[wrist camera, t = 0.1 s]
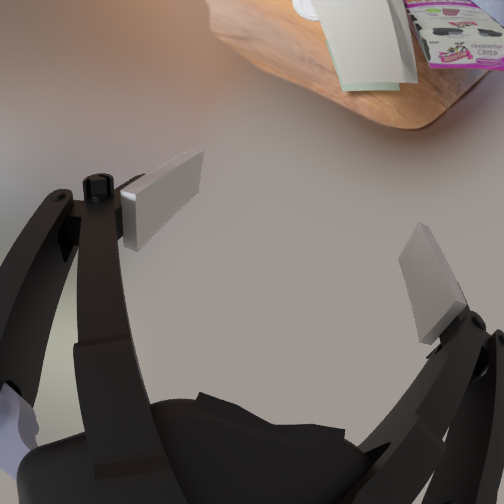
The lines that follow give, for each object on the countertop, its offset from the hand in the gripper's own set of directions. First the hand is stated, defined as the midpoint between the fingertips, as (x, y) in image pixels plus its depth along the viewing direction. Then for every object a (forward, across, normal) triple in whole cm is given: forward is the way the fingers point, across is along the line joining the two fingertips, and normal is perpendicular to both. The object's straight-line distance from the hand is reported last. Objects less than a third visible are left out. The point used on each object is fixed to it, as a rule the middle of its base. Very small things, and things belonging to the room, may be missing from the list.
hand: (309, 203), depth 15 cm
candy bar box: (+25, +12, +27) cm, 39 cm away
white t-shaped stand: (+25, 0, +26) cm, 36 cm away
